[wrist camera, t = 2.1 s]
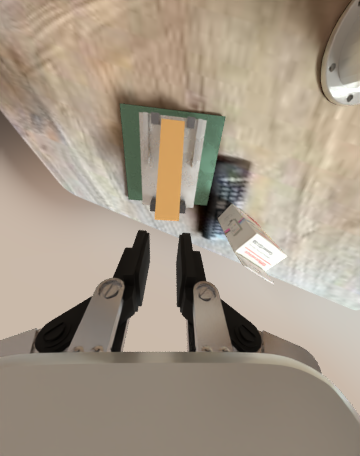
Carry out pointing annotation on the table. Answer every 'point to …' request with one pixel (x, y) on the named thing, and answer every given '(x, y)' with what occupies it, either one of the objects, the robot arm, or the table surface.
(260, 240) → the ink cartridge box
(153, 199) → the board
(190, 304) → the robot arm
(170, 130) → the orange wooden bar
